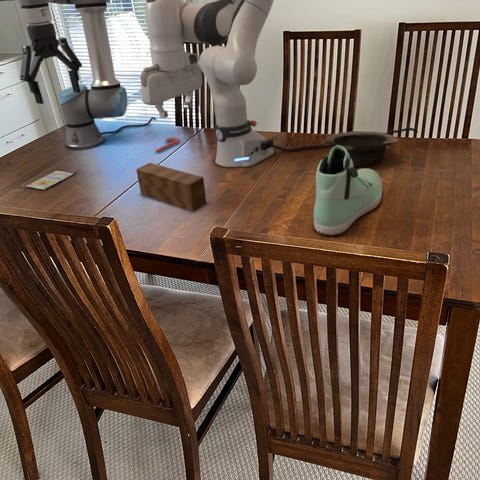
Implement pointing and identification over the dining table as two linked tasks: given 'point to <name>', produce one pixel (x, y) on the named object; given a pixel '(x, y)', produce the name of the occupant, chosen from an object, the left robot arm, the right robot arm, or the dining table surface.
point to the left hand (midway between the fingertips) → (59, 97)
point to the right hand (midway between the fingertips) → (176, 112)
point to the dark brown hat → (363, 145)
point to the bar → (172, 186)
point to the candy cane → (174, 139)
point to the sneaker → (343, 192)
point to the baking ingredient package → (50, 180)
